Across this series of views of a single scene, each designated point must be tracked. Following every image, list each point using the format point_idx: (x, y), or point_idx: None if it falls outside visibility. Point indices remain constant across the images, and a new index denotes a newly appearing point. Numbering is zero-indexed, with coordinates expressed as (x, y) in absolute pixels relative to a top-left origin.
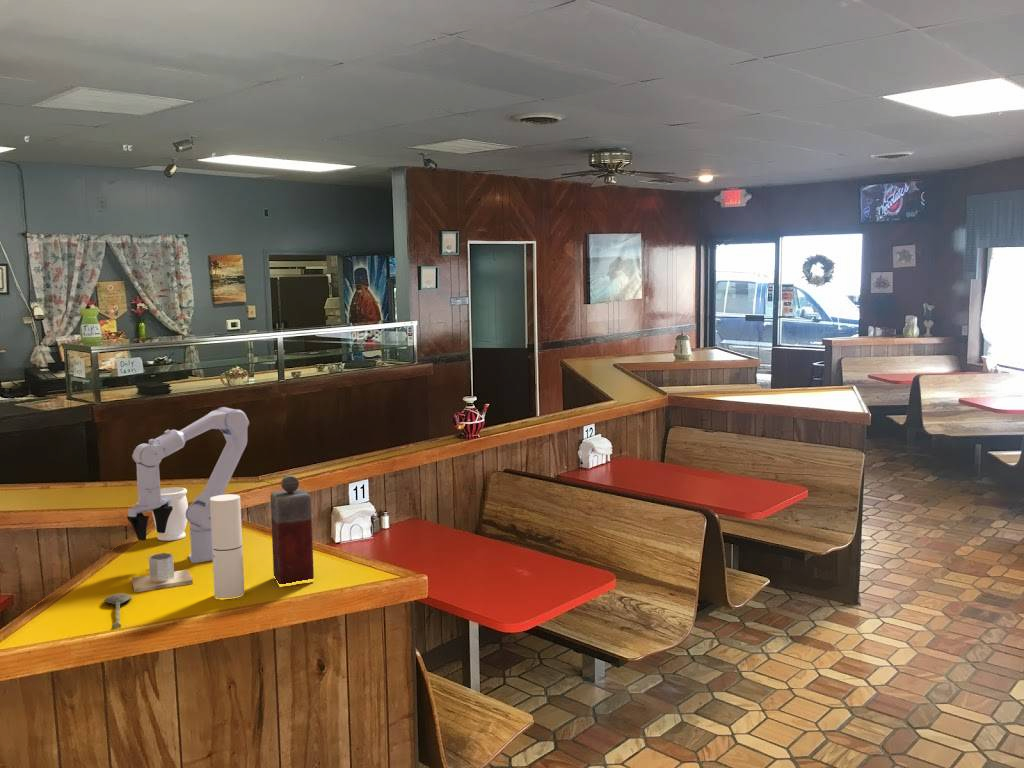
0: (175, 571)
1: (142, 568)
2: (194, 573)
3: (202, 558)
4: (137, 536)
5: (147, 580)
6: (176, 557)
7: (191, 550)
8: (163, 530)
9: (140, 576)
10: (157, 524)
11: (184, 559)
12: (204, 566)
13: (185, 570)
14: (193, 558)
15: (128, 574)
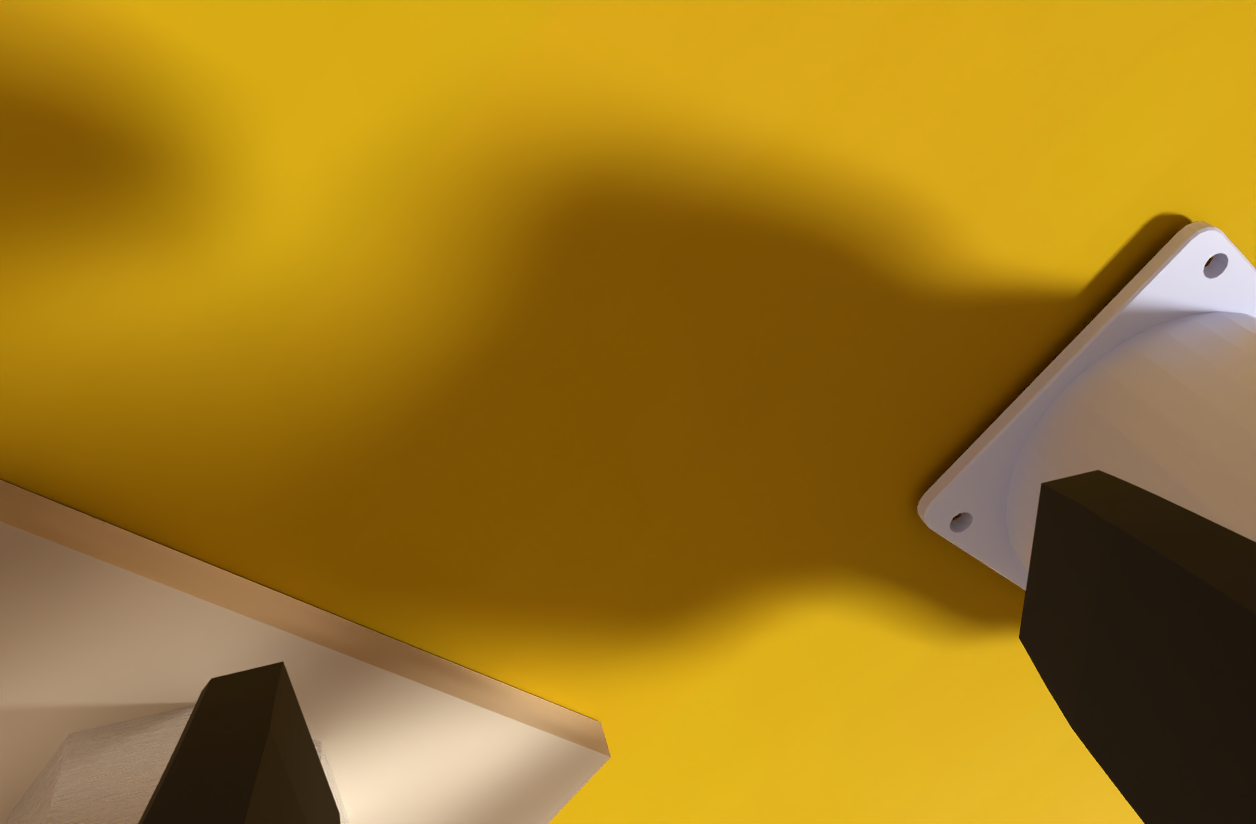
0: (488, 715)
1: (498, 23)
2: (621, 772)
3: (1027, 566)
4: (178, 779)
5: (12, 753)
6: (1143, 66)
7: (1117, 476)
8: (1057, 697)
9: (55, 545)
10: (1220, 652)
11: (1066, 260)
12: (861, 670)
13: (570, 766)
14: (1028, 455)
15: (122, 81)
